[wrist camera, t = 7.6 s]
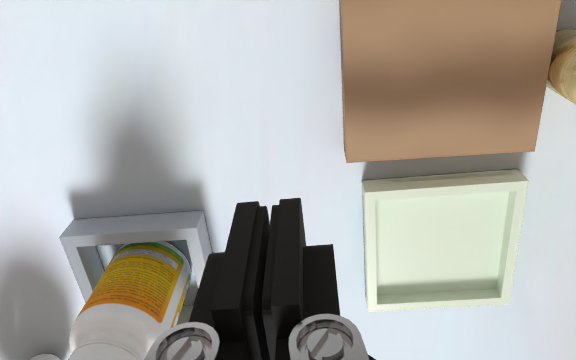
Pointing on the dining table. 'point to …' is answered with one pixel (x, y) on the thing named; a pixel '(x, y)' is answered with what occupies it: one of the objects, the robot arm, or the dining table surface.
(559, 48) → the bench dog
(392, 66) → the tan cardboard panel
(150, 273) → the supplement bottle
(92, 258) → the grey square frame
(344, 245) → the dining table surface
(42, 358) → the donut
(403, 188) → the tray
